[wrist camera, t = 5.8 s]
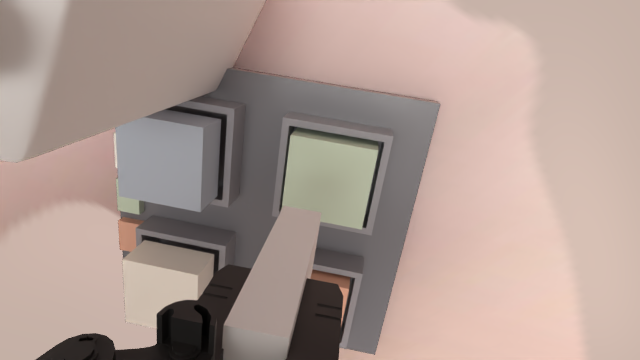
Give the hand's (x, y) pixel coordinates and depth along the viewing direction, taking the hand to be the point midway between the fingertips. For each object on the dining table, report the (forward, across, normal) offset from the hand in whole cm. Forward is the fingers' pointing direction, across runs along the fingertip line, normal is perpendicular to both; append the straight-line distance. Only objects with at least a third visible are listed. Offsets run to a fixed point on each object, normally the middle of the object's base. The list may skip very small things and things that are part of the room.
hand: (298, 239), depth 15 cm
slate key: (+8, -8, 0) cm, 11 cm away
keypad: (+11, -4, -4) cm, 12 cm away
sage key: (+9, +1, 0) cm, 9 cm away
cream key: (+8, -8, -9) cm, 14 cm away
